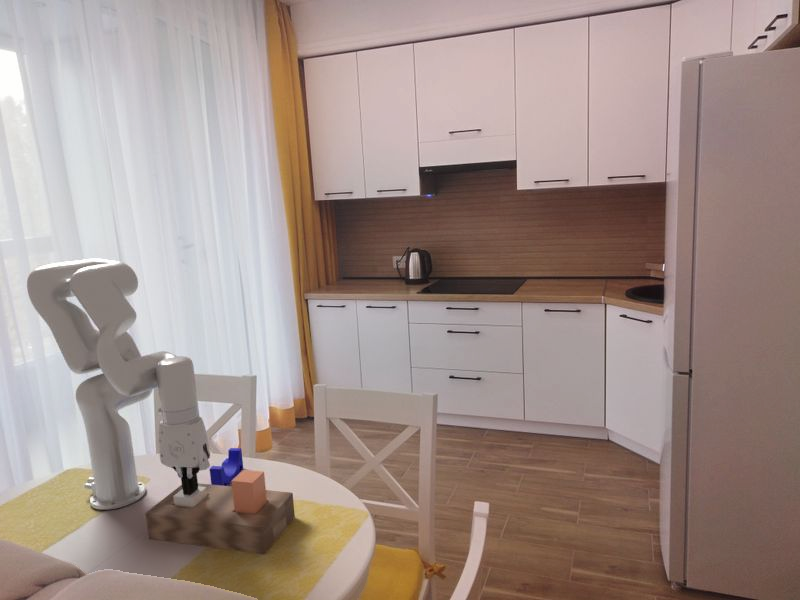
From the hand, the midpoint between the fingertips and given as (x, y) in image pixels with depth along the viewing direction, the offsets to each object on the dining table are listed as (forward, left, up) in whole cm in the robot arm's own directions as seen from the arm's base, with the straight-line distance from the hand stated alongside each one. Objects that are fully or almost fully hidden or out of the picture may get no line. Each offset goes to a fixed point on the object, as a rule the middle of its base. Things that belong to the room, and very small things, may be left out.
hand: (190, 491), depth 131 cm
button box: (+7, 0, -8) cm, 11 cm away
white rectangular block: (0, 0, -8) cm, 8 cm away
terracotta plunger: (+15, 0, -2) cm, 15 cm away
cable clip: (-5, +21, -8) cm, 23 cm away
